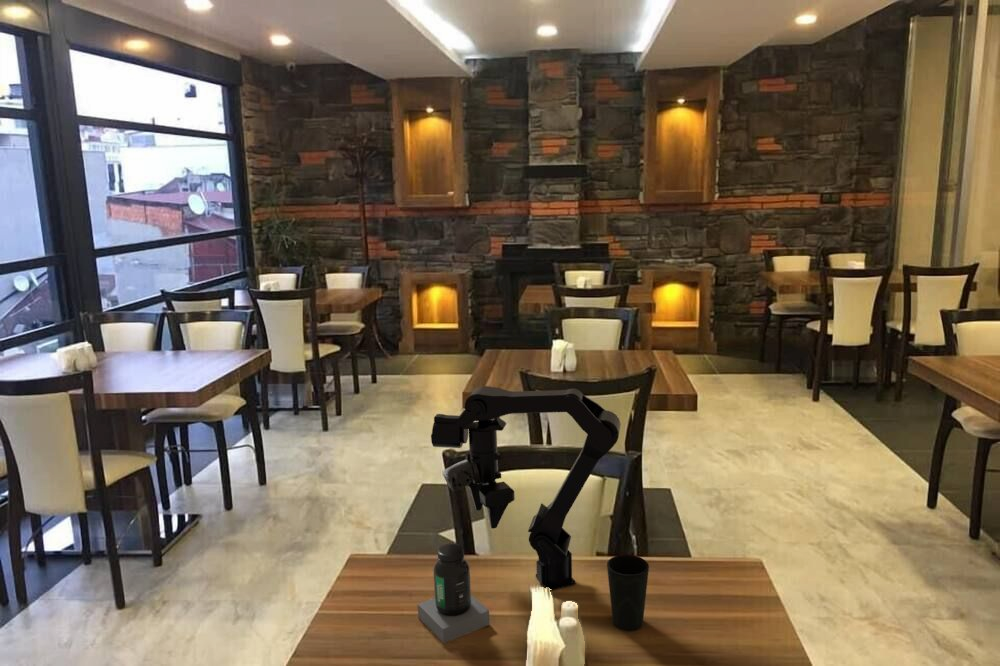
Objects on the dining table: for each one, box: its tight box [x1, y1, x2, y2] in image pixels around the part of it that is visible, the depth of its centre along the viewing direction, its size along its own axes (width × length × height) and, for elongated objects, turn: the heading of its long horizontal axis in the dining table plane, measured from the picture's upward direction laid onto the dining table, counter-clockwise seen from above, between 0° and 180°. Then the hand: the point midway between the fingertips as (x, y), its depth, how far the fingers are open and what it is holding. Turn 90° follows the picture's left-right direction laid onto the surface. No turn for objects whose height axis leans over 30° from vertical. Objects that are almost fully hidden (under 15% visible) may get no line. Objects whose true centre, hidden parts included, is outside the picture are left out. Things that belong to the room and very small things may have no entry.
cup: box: [606, 554, 650, 632], centre depth 139 cm, size 8×8×12 cm
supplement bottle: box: [432, 543, 472, 616], centre depth 141 cm, size 7×7×12 cm
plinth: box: [417, 594, 491, 645], centre depth 143 cm, size 10×10×3 cm
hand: (486, 518), depth 156 cm, fingers open, 9 cm apart
